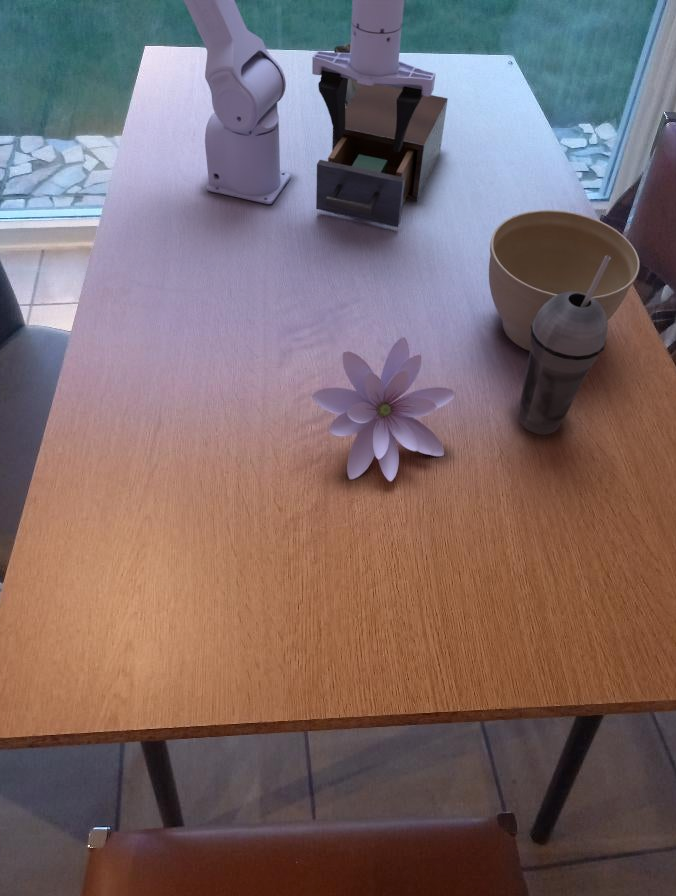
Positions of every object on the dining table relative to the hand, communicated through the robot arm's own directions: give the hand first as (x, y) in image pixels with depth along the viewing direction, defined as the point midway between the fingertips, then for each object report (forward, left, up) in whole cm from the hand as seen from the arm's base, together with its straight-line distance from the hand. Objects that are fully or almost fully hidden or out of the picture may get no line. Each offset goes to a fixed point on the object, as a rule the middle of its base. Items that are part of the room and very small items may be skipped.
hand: (368, 142), depth 98 cm
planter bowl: (+27, -16, -10) cm, 33 cm away
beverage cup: (+29, -31, -10) cm, 44 cm away
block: (0, +2, -8) cm, 8 cm away
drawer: (0, +1, -9) cm, 9 cm away
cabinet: (0, +13, -10) cm, 16 cm away
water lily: (+14, -41, -10) cm, 45 cm away
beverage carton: (-7, +30, -10) cm, 32 cm away
